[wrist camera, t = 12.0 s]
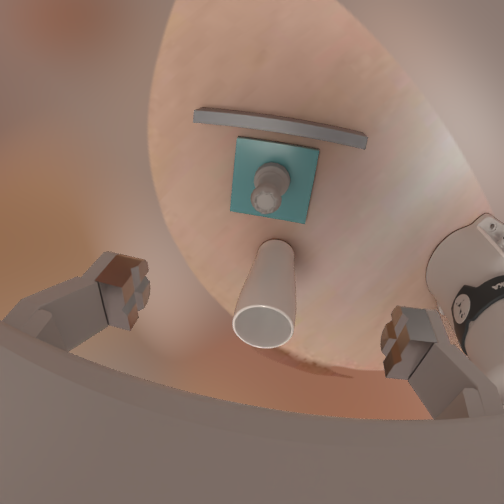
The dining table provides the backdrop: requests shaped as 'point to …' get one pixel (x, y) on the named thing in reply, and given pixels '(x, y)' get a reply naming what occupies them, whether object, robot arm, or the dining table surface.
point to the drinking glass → (268, 298)
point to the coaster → (288, 155)
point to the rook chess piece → (269, 187)
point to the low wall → (281, 125)
